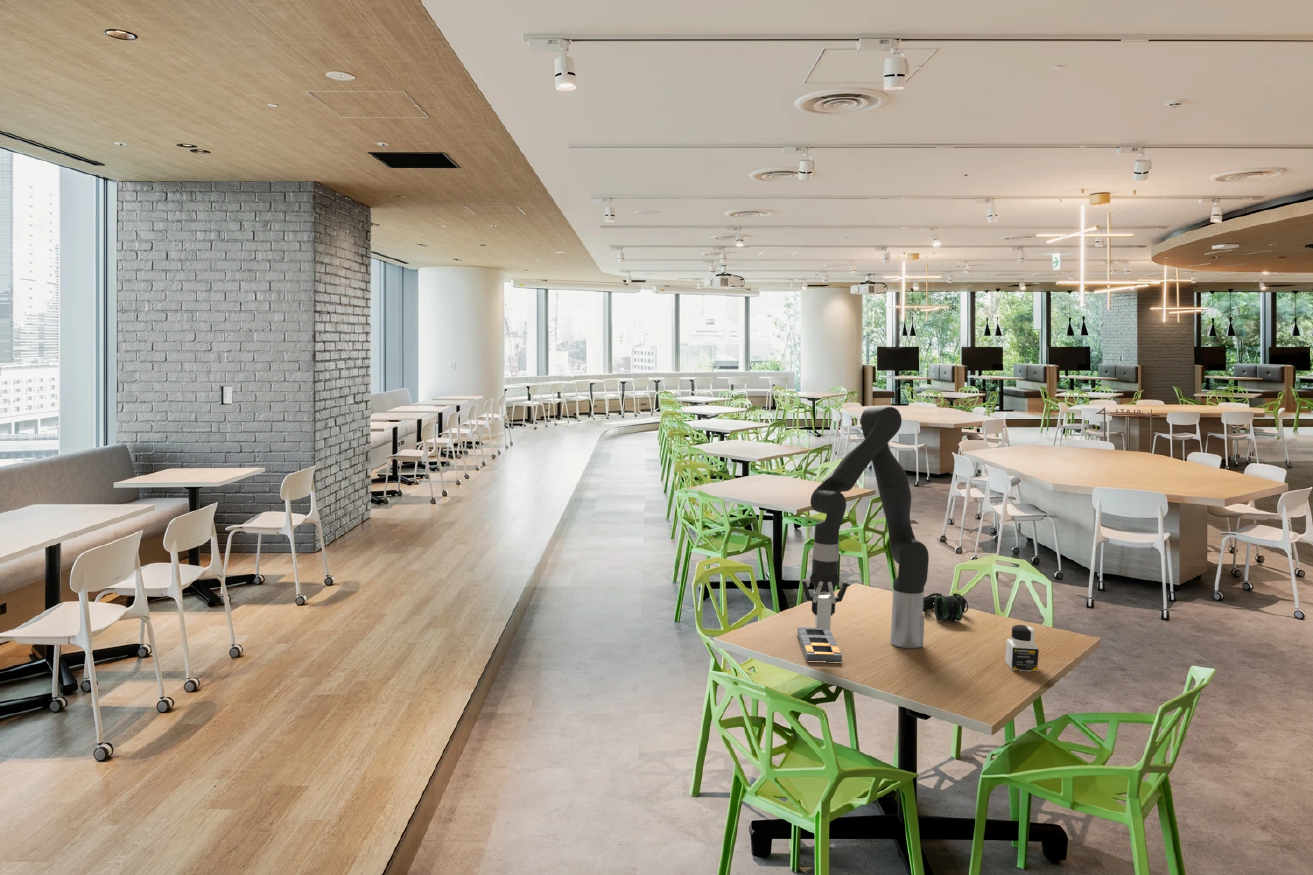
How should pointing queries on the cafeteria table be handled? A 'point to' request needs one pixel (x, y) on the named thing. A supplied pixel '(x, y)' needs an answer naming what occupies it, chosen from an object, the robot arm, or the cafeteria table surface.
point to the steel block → (823, 612)
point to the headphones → (945, 606)
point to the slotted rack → (819, 645)
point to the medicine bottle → (1022, 649)
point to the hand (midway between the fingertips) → (822, 614)
